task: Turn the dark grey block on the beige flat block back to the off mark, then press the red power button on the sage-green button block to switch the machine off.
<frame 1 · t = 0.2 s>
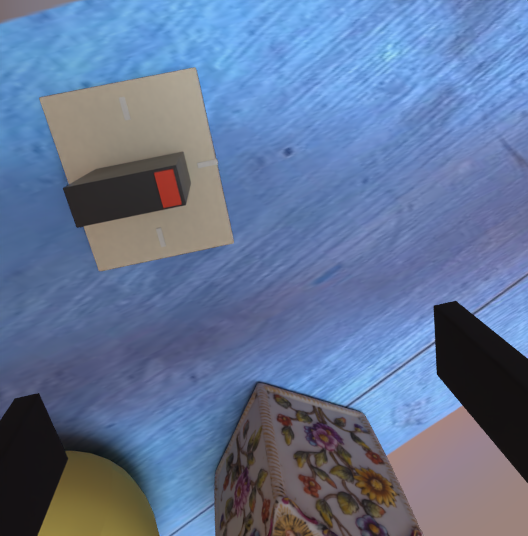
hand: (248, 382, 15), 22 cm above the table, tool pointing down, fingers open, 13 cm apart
vase: (75, 489, 43), on the table
beige flat block: (149, 170, 33), on the table
decorative jar: (288, 440, 43), on the table
dark grey block: (135, 185, 27), point 7 cm above the table, hinge at 90.0°
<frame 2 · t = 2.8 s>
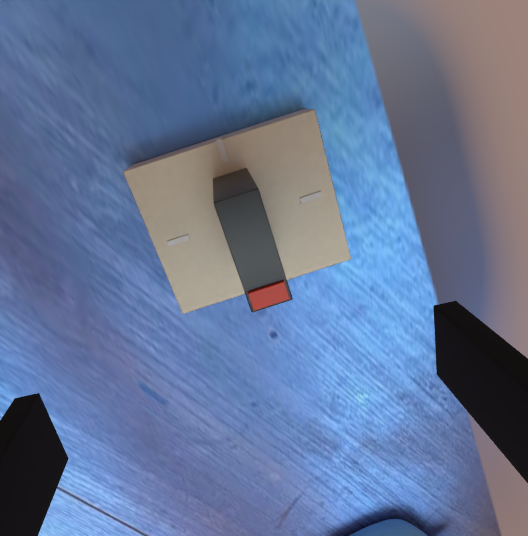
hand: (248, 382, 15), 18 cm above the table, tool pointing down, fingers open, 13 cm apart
beige flat block: (241, 207, 31), on the table
dark grey block: (249, 234, 25), point 7 cm above the table, hinge at 90.0°
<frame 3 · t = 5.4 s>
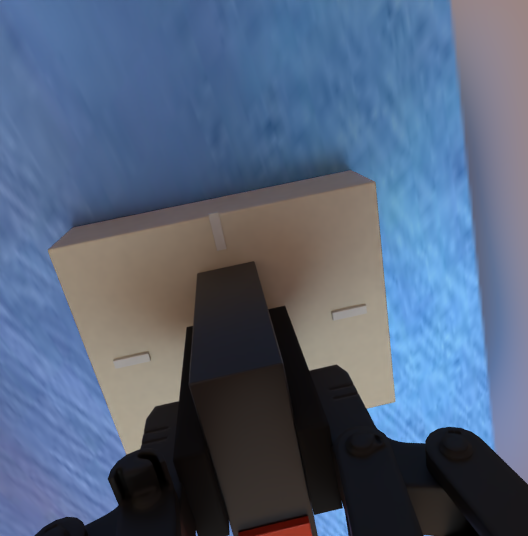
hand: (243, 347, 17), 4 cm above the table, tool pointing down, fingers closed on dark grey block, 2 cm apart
beige flat block: (237, 303, 20), on the table
dark grey block: (249, 390, 14), point 7 cm above the table, hinge at 90.1°, touching gripper
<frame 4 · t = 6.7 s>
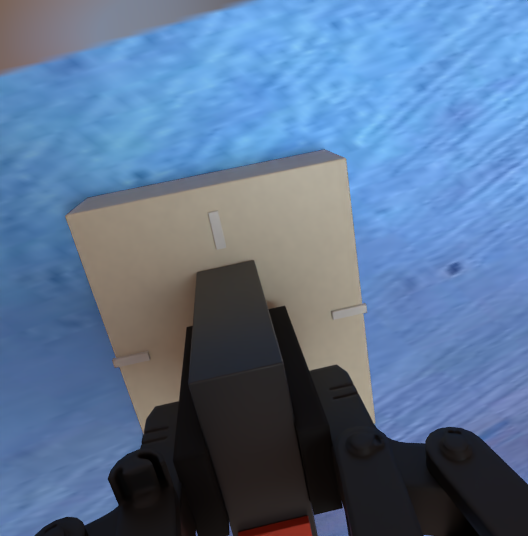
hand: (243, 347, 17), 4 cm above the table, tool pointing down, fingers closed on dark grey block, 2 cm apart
beige flat block: (236, 302, 20), on the table
dark grey block: (249, 390, 14), point 7 cm above the table, hinge at 0.1°, touching gripper
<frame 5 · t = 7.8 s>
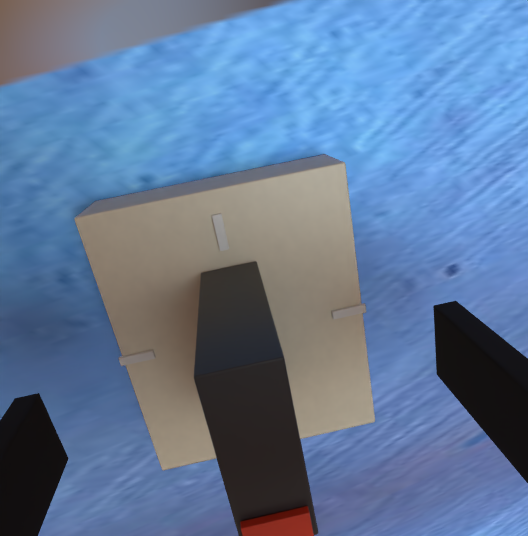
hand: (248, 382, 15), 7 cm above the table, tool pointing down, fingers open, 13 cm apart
beige flat block: (239, 302, 21), on the table
dark grey block: (251, 386, 15), point 7 cm above the table, hinge at -0.1°
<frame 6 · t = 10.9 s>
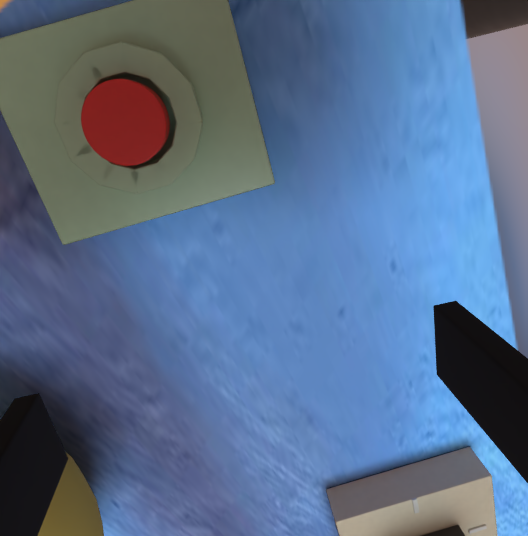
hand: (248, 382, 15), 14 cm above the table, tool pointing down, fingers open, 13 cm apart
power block: (142, 119, 24), on the table
power button: (127, 122, 20), point 5 cm above the table, slide at 0.2 cm
beige flat block: (406, 511, 37), on the table
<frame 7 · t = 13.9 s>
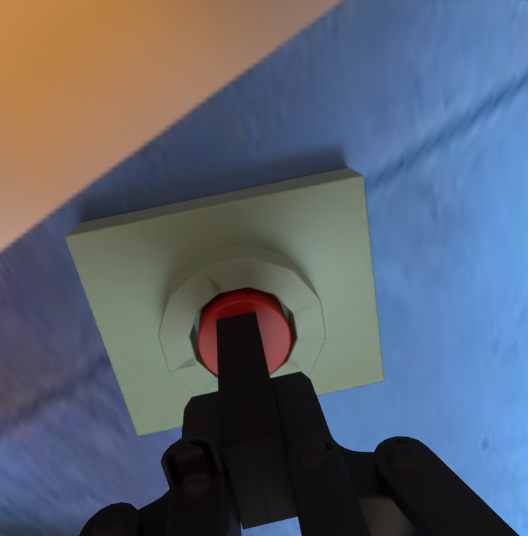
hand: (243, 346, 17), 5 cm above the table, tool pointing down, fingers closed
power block: (238, 296, 21), on the table
power button: (243, 332, 18), point 4 cm above the table, slide at -0.8 cm, touching gripper
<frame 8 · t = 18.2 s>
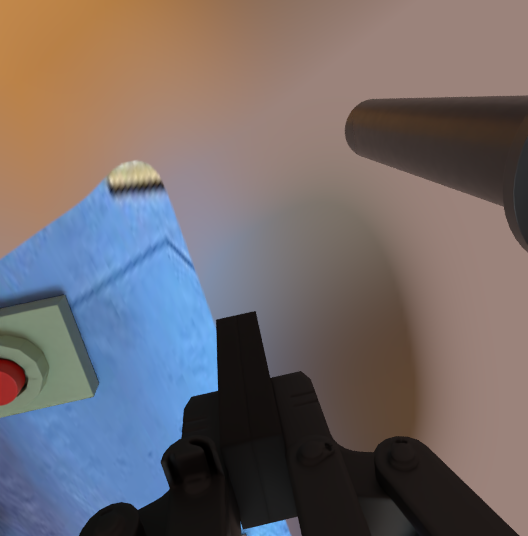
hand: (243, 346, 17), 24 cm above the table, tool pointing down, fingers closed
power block: (20, 354, 42), on the table
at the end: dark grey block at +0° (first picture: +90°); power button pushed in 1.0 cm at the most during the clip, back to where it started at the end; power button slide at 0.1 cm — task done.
